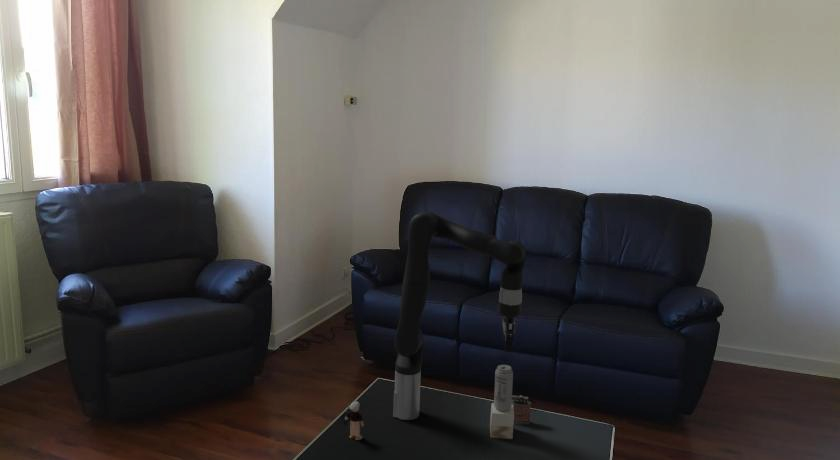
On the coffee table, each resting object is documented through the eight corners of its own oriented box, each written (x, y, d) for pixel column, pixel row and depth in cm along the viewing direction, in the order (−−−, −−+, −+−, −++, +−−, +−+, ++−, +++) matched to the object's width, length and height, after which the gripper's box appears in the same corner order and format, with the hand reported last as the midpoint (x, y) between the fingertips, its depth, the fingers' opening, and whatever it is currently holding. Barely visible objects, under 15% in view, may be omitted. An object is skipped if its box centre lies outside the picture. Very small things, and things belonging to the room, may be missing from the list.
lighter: (529, 420, 220) (531, 394, 218) (530, 425, 216) (532, 399, 214) (507, 418, 220) (508, 393, 218) (507, 423, 217) (509, 397, 215)
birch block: (490, 437, 207) (491, 425, 206) (489, 426, 214) (490, 414, 213) (512, 439, 206) (513, 427, 206) (511, 428, 214) (511, 416, 213)
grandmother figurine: (367, 436, 205) (368, 401, 202) (362, 441, 201) (363, 406, 199) (346, 431, 207) (347, 397, 205) (341, 437, 203) (342, 402, 201)
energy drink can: (515, 409, 208) (516, 368, 206) (501, 414, 205) (503, 372, 202) (503, 403, 213) (505, 362, 211) (490, 407, 210) (491, 366, 207)
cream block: (491, 425, 206) (491, 413, 206) (490, 414, 214) (491, 402, 213) (513, 427, 206) (514, 414, 205) (512, 416, 213) (512, 404, 212)
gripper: (497, 293, 209) (495, 338, 212) (500, 306, 195) (497, 353, 198) (519, 295, 208) (516, 339, 211) (523, 307, 194) (520, 355, 197)
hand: (507, 346), depth 204 cm, fingers open, 8 cm apart
